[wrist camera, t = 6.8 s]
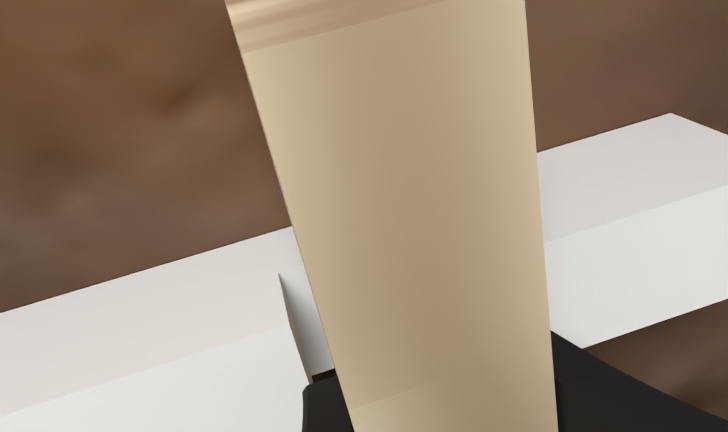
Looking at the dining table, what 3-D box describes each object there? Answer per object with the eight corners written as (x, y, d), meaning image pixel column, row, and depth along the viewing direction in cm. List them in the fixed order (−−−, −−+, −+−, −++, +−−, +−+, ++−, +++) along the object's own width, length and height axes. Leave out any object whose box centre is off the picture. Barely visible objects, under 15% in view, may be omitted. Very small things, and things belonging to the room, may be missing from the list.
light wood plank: (363, 463, 19) (443, 728, 13) (220, -13, 12) (241, 55, 6) (455, 431, 19) (577, 673, 13) (364, -49, 13) (522, -20, 6)
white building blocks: (39, 411, 16) (-8, 550, 12) (-18, 318, 14) (-90, 444, 11) (668, 210, 18) (783, 279, 14) (670, 112, 16) (798, 162, 13)
